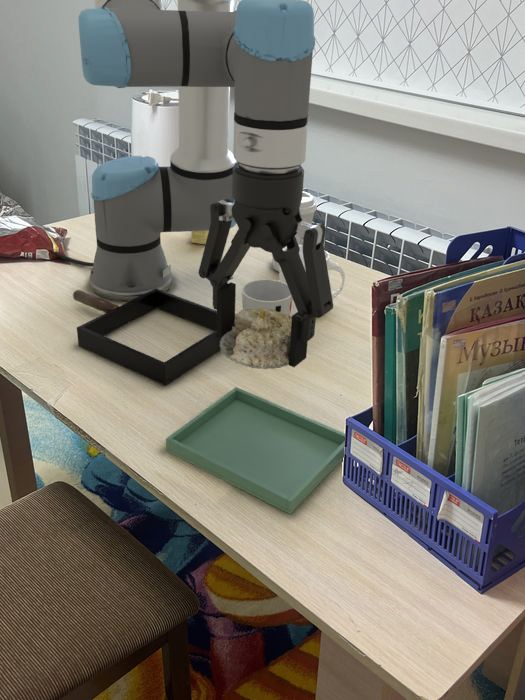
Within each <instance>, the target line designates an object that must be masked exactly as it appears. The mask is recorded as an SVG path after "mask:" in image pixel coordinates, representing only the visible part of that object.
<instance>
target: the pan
mask: <svg viewBox="0 0 525 700" xmlns="http://www.w3.org/2000/svg"><path fill="white" fill-rule="evenodd" d="M72 298H73V300H74V301H76V302H78V303H81V304H83V305H85V306H88V307H90V308H92V309H95V310H97V311H100V312H102V313H103V314H100V315H99V316H97V317H95V318H93V319H91V320H89V321H87V322H85V323H83V324H81V325H78V326H77V327H76V335H77V344H78V347H79V348H81V349H83V350H85V351H87V352H89V353H92V354H94V355H96V356H98V357H101V358H102V359H103V358H104V359H105V360H107V361H110V362H112V363H114V364H117V365H119V366H121V367H123V368H125V369H128V370H130V371H132V372H134V373H136V374H137V375H140V376H143V377H145V378H147V379H149V380H151V381H154V382H156V383H158V384H160V385H162V386H168V385H169V384H171V383H172V382H173V381H175V380H177V379H178V378H180V377H181V376H183V375H184V374H186V373H187V372H189V371H190V370H192V369H194V368H195V367H197V366H198V365H200V364H201V363H202V362H204V361H205V360H207V359H209V358H211V357H212V356H213V355H215V354H216V353H218V352H219V351H221V347H220V346H219V345H220V341H221V339H220V338H217V310H216V309H214V308H210V307H208V306H205V305H202V304H200V303H197V302H194V301H192V300H189V299H187V298H183V297H181V296H178V295H176V294H172V293H170V292H167V291H166V292H165V291H162V290H159V289H156V288H155V289H153V290H151V291H149V292H147V293H145V294H143V295H141V296H139V297H137V298H135V299H133V300H131V301H126V302H125V303H123V304H121V305H118V304H116V303H113V302H111V301H108V300H107V299H104V298H102V297H98V296H96V295H93V294H91V293H89V292H86V291H83V290H81V289H77V290H74V291H73V293H72ZM157 309H158V310H160V311H163V312H165V313H168V314H170V315H173V316H175V317H178V318H181V319H184V320H186V321H189V322H191V323H193V324H196V325H199V326H201V327H204V328H207V329H209V330H213V332H211V333H210V334H208V335H206V336H204V337H203V338H201V339H199V340H198V341H196V342H195V343H193V344H192V345H190V346H188V347H187V348H185V349H183V350H182V351H180V352H178V353H177V354H175V355H174V356H172V357H170V358H169V359H168V360H165V361H163V360H160V359H158V358H156V357H153V356H151V355H148V354H146V353H144V352H142V351H139V350H137V349H135V348H133V347H130V346H128V345H126V344H123V343H121V342H118V341H116V340H115V339H112V338H109V337H107V336H106V335H108V334H111V333H113V332H114V331H116V330H118V329H120V328H122V327H124V326H126V325H127V324H129V323H132V322H133V321H135V320H137V319H139V318H141V317H143V316H145V315H147V314H149V313H151V312H152V311H154V310H157Z"/></svg>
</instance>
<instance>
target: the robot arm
mask: <svg viewBox="0 0 525 700" xmlns="http://www.w3.org/2000/svg"><path fill="white" fill-rule="evenodd" d="M94 6H95V7H94V8H85V9H84V10H81V11H80V13H79V14H78V19H77V20H78V35H79V46H80V47H79V48H80V58H81V59H80V60H81V68H82V69H81V70H82V75H83V78H84V80H85V81H86V82H87V83H88V84H90V85H92V86H101V87H115V88H118V89H125V88H147V87H148V88H149V87H151V88H154V87H155V88H156V87H158V88H159V87H164V88H165V87H169V88H170V87H178V147H177V149H175V150H174V151H173V152H172V153H171V155H170V158H169V159H170V165H169V166H160V164H159V162H158V161H157V159H156V158H154V157H152V156H149V155H148V156H147V155H146V156H142V155H131V156H123V157H119V158H113V159H110V160H108V161H105V162H104V163H101V164H100V165H98V166H97V167H96V168H95V169H94V171H93V173H92V175H91V191H92V192H91V199H92V201H93V212H94V213H93V214H94V225H95V236H96V237H95V239H96V250H95V254H94V259H93V262H87V261H82V260H79V259H75V258H72V257H69V256H67V255H65V254H63V253H60V252H58V251H57V252H55V253H54V252H52V253H53V254H54V255H55V256H57V257H58V258H60V259H61V260H65V261H67V262H70V263H73V264H77V265H80V266H85V267H92V268H91V270H90V274H89V285H90V288H91V291H92V292H94V294H96V295H98V296H100V297H101V298H105V299H108V300H113V301H121V302H129V301H131V300H133V299H135V298H137V297H139V296H141V295H143V294H145V293H147V292H149V291H151V290H153V289H155V288H156V289H159V290H162V291H165V292H167V291H169V289H170V288H171V287H172V283H173V282H172V281H173V280H172V279H173V278H172V276H173V275H172V267H171V266H172V265H171V264H169V265H168V262H167V258H166V255H165V253H164V250H163V248H162V241H161V239H162V238H161V233H181V232H184V233H185V232H191V231H209V232H208V236H207V240H206V244H205V245H204V247H203V253H202V257H201V259H200V264H199V268H198V276H199V277H200V278H201V279H206V280H208V281H209V282H210V285H211V286H212V307H213V310H216V311H217V338H220V339H221V338H222V337H223V336H224V335H225V334H226V333H227V332H230V331H231V330H232V326H234V327H235V324H234V323H235V321H234V320H235V314H236V295H237V294H236V292H237V291H236V290H237V285H236V283H234V282H232V281H231V280H234V277H233V276H234V274H235V272H236V271H237V269H238V268H239V266H240V264H241V263H242V262H243V259H244V258H245V256H246V255H247V253H248V251H249V250H250V249H251V248H255V249H257V248H259V249H262V250H263V251H264V252H267V253H270V254H271V256H272V255H273V257H272V259H273V258H274V260H275V261H276V262H278V263H279V265H280V268H281V270H282V273H283V275H284V278H285V280H286V283H287V285H288V288H289V290H290V293H291V296H292V298H293V301H294V303H295V306H296V308H297V311H298V312H297V313H295V314H294V315H292V317H291V318H292V323H291V338H290V353H289V365H288V366H289V367H292V368H296V367H297V366H298V365H300V363H302V362H303V361H304V360H306V359H307V352H308V342H309V341H310V340H312V339H313V338H314V336H315V331H316V321H317V318H318V319H320V318H322V317H324V316H325V315H326V314H327V313H329V312H330V311H332V310H333V308H334V299H333V300H332V294H331V292H332V289H331V282H330V276H329V275H330V274H329V270H328V269H327V263H326V256H325V251H326V250H325V240H326V233H327V227H326V225H325V224H324V223H317V224H316V225H314V224H312V225H311V224H309V223H306V222H303V221H302V218H301V215H300V204H301V201H302V195H303V191H304V180H305V179H304V177H305V169H304V168H303V166H302V165H303V164H304V163H305V161H306V151H307V138H308V137H307V136H308V120H309V119H308V117H309V106H310V94H311V93H310V92H311V82H312V81H311V79H312V67H313V55H314V54H313V53H314V50H315V46H316V37H315V10H314V8H313V6H312V4H311V3H310V2H308V1H307V0H240V1H239V2H238V3H237V6H236V9H235V10H234V0H177V9H163V5H162V2H161V0H94ZM231 88H234V112H233V152H231V150H229V134H230V133H229V131H230V130H229V129H230V99H231ZM235 226H237V227H238V228H237V230H236V233H235V234H234V236H233V238H232V239H231V241H230V246H229V248H228V250H227V251H226V253H225V254H224V252H225V249H226V245H227V242H228V237H229V233H230V229H232V228H234V227H235ZM297 233H298V234H299V235H300V238H301V239H300V243H301V244H303V258H304V263H305V268H304V266H303V263H302V261H301V258H300V255H299V251H300V248H299V245H298V243H297V240H296V238H295V235H296V234H297ZM285 246H287V249H286V250H285V251H283V249H282V248H284V247H285ZM223 255H224V256H223ZM305 269H306V271H305Z"/></svg>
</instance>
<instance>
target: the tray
mask: <svg viewBox="0 0 525 700" xmlns="http://www.w3.org/2000/svg"><path fill="white" fill-rule="evenodd" d="M345 434H346V433H344V432H343V431H340V430H337V429H336V428H333V427H331V426H328V425H326V424H324V423H321V422H318V421H317V420H315V419H311V418H310V417H307V416H305V415H302V414H300V413H297V412H296V411H293V410H291V409H289V408H286V407H284V406H281V405H279V404H277V403H274V402H272V401H270V400H267V399H265V398H263V397H261V396H258V395H256V394H253V393H251V392H249V391H246V390H245V389H241V388H240V387H237V386H235V387H234V388H233V389H231V390H229V392H227V393H226V394H224V395H223V396H222V397H220V398H219V399H218V400H216V401H215V402H214V403H213V404H211V405H210V406H208V407H207V408H205V409H204V410H202V411H201V412H200V413H199V414H197V415H196V416H194V417H193V418H192V419H190V420H189V421H188V422H186V423H185V424H183V425H182V426H181V427H179V429H177V430H175V431H174V432H173V433H172V434H170V435H169V436H168V437H166V438H165V451H166V452H168V453H170V454H172V455H174V456H176V457H178V458H179V459H182V460H183V461H186V462H187V463H189V464H191V465H193V466H195V467H197V468H199V469H200V470H203V471H205V472H206V473H209V474H211V475H212V476H215V477H216V478H219V479H221V480H223V481H224V482H226V483H229V484H230V485H232V486H234V487H236V488H238V489H240V490H242V491H244V492H246V493H248V494H250V495H251V496H254V497H255V498H257V499H260V501H261V500H262V501H263V502H265V503H267V504H269V505H271V506H273V507H275V508H277V509H279V510H281V511H283V512H285V513H287V514H289V515H291V514H292V513H293V512H294V511H295V510H296V509H297V508H298V507H299V506H300V505H301V503H302V502H304V501H305V499H306V498H307V497H308V496H310V494H311V493H312V492H313V491H314V490H315V489H316V488H317V487H318V486H319V484H321V482H322V481H323V480H324V479H325V478H326V477H327V476H328V475H329V474H330V473H331V472H332V471H333V470H334V469H335V468H336V467H337V466H338V464H339V463H340V462H342V460H343V459H344V458H345V457H344V447H345Z"/></svg>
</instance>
